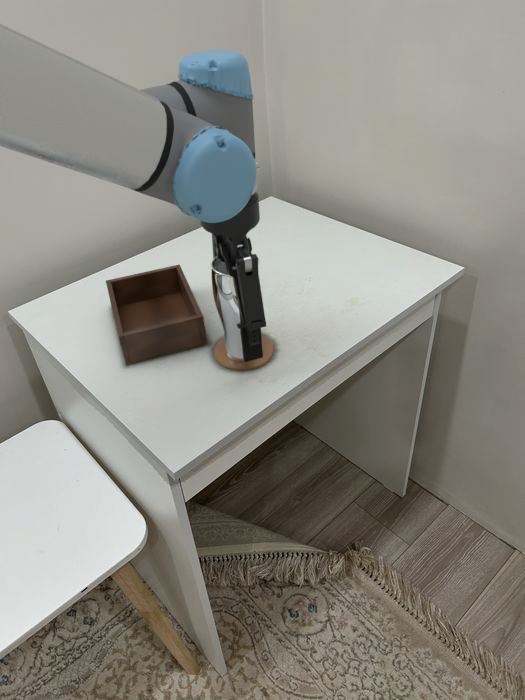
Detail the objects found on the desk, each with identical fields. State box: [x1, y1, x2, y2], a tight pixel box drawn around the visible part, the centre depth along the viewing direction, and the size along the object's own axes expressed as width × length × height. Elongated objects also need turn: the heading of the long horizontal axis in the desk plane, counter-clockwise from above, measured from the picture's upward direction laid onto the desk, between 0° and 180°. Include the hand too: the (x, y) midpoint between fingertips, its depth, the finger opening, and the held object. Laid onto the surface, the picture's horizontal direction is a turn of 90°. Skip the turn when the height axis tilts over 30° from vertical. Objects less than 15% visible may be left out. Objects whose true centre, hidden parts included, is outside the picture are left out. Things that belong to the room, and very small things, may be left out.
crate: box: [105, 264, 209, 366], centre depth 87 cm, size 13×17×5 cm
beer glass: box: [210, 252, 264, 361], centre depth 78 cm, size 7×7×15 cm
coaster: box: [213, 333, 274, 372], centre depth 82 cm, size 9×9×1 cm
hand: (242, 337), depth 81 cm, fingers open, 9 cm apart
